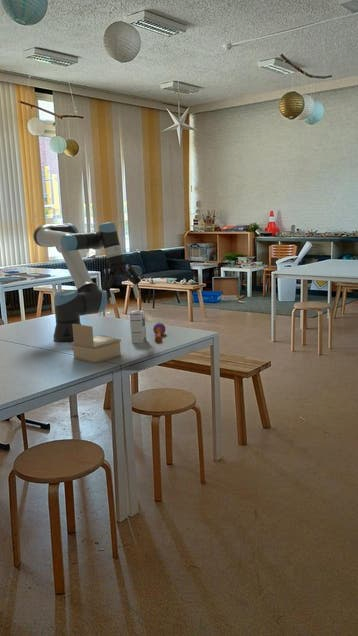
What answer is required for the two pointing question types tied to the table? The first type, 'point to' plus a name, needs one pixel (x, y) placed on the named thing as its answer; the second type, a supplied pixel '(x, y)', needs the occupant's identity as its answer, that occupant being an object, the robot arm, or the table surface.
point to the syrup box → (137, 326)
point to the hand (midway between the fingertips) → (125, 301)
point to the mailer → (97, 353)
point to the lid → (89, 337)
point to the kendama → (159, 332)
